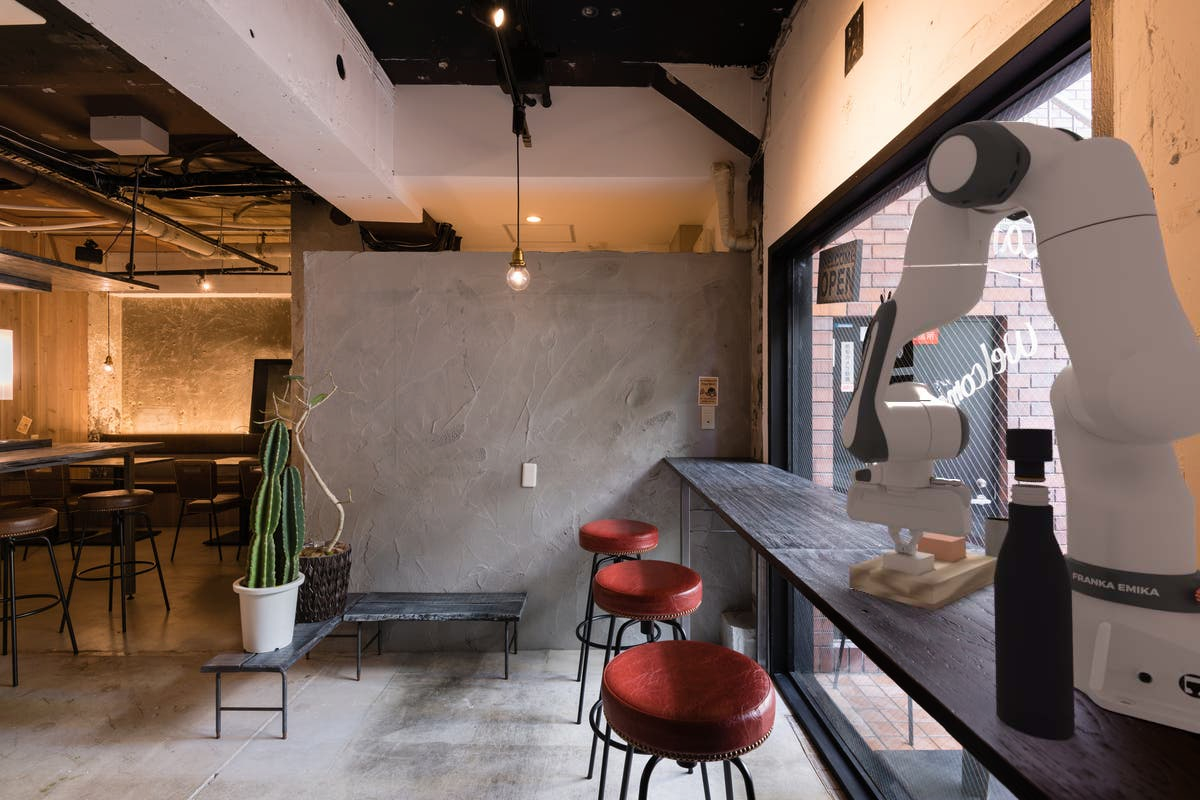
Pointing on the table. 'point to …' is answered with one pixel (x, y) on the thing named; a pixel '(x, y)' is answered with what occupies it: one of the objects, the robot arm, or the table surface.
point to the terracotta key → (943, 547)
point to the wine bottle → (1033, 602)
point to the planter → (994, 534)
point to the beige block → (909, 562)
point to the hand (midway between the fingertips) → (905, 553)
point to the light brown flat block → (924, 580)
